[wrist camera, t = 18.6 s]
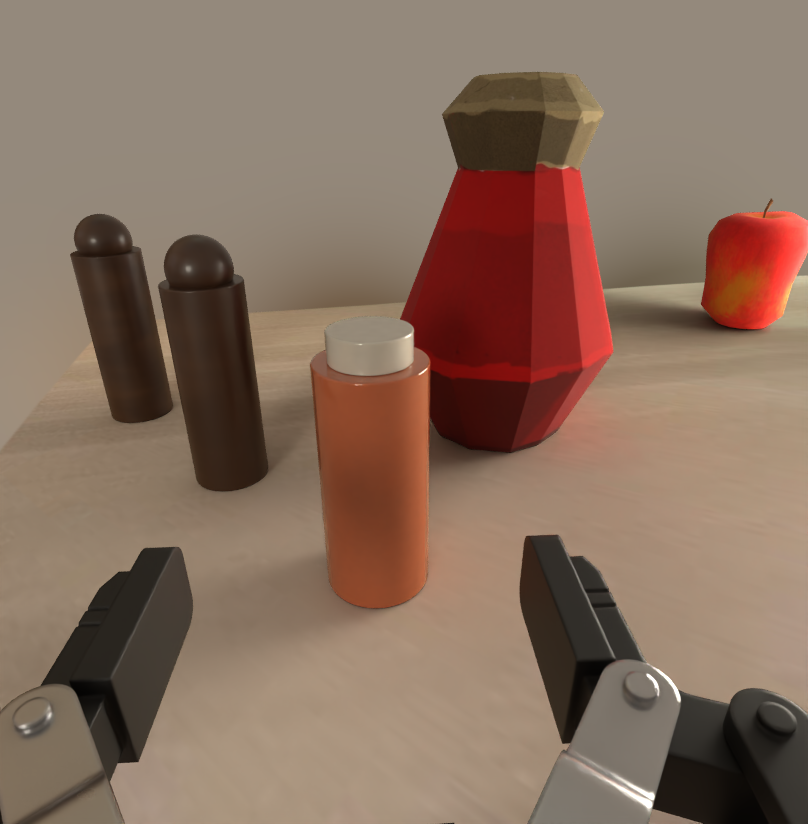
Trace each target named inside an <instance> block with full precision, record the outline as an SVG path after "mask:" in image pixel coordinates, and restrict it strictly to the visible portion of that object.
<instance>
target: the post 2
mask: <svg viewBox="0 0 808 824" xmlns="http://www.w3.org/2000/svg"><path fill="white" fill-rule="evenodd" d="M164 271H165V276H166V278H167V280H164V281H162V282H161V283H160V284H159V286H158V287H159V293H160V298H161V303H162V308H163V312H164V318H165V323H166V328H167V333H168V338H169V343H170V348H171V353H172V358H173V363H174V368H175V373H176V378H177V384H178V389H179V394H180V399H181V404H182V409H183V414H184V419H185V424H186V429H187V434H188V439H189V444H190V449H191V454H192V459H193V464H194V469H195V474H196V479H197V482H198V483H199V484H200V485H201V486H202V487H204V488H206V489H209V490H214V491H232V490H238V489H242V488H245V487H248V486H250V485H253V484H254V483H256V482H258V481H259V480H261V479H262V478H263V477H264V476H265V475H266V473H267V471H268V461H267V453H266V446H265V438H264V430H263V423H262V415H261V408H260V400H259V392H258V385H257V377H256V370H255V362H254V355H253V347H252V339H251V332H250V324H249V317H248V309H247V301H246V294H245V287H244V279H243V278H242V277H241V276H239V275H235V274H234V267H233V262H232V259H231V257H230V255H229V253H228V251H227V250H226V249H225V248H224V246H222V245H221V244H220V243H219V242H218V241H216V240H214V239H212V238H210V237H208V236H204V235H188V236H185V237H182V238H180V239H179V240H177V241H176V242H174V243H173V244H172V245H171V247H170V248H169V249H168V251H167V253H166V256H165V260H164Z"/></svg>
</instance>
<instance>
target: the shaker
mask: <svg viewBox="0 0 808 824" xmlns="http://www.w3.org/2000/svg"><path fill="white" fill-rule="evenodd" d="M324 335H325V349H326V350H324V351H322V352H320V353H318V354H317V355H316V356H314V357H313V359H312V360H311V363H310V372H311V383H312V395H313V406H314V418H315V429H316V441H317V452H318V464H319V475H320V487H321V499H322V510H323V522H324V533H325V545H326V556H327V568H328V578H329V583H330V585H331V587H332V589H333V590H334V592H335V593H336V594H337V595H338V596H339V597H340V598H342V599H343V600H345V601H347V602H349V603H351V604H353V605H356V606H360V607H365V608H386V607H392V606H395V605H399V604H401V603H404V602H406V601H408V600H409V599H411V598H412V597H414V596H415V595H416V594H417V593H418V592H419V591H420V590H421V589H422V588H423V586H424V584H425V582H426V580H427V576H428V525H429V443H430V358H429V356H428V355H427V354H426V353H425V352H424V351H422V350H420V349H418V348H416V347H414V328H413V326H412V325H411V324H410V323H408V322H406V321H403V320H400V319H396V318H391V317H382V316H364V317H354V318H348V319H344V320H340V321H337V322H334V323H332V324H330V325H329V326H327V327H326V329H325V332H324Z"/></svg>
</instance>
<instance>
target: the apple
mask: <svg viewBox="0 0 808 824" xmlns="http://www.w3.org/2000/svg"><path fill="white" fill-rule="evenodd" d="M772 202H773V200H772V199H771V200H770V201H769V203H768V206H767V207H766V209H765V211H764V212H752V213H736V214H733V215H731V216H728V217H726V218H723V219H721V220H719V221H718V223H717V224H716V225H715V227H714V228H713V230H712V231H711V232H710V234H709V238H708V246H707V256H706V279H705V285H704V291H703V296H702V302H701V305H702V306H703V308H704V309H705V310H706V311H707V312H708V314H709V315H710V316H711V317H712V318H713V320H714V321H716V322H717V323H719V324H721V325H724V326H728V327H733V328H740V329H762V328H765V327H767V326H768V325H769V324H771V323H772V322H774V321H775V320H777V319H778V318H780V317H781V316H782V315H783V312H784V309H785V305H786V302H787V299H788V296H789V292H790V289H791V286H792V283H793V281H794V279H795V277H796V275H797V273H798V271H799V269H800V267H801V265H802V263H803V261H804V259H805V256H806V254H807V252H808V221H806V220H805V219H803V218H801V217H800V216H798V215H796V214H794V213H791V212H784V211H783V212H767V210H768V209H769V207H770V206H771V204H772Z"/></svg>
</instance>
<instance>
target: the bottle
mask: <svg viewBox="0 0 808 824" xmlns="http://www.w3.org/2000/svg"><path fill="white" fill-rule="evenodd" d="M603 113H604V111H603V110H602V108H601V107H600V106H599V104H598V103H597V102H596V100H595V99H594V97H593V96H592V95H591V93H590V92H589V91H588V89H587V88H586V86H585V85H584V84H583V82H582V81H581V80H580V78H579V77H578V76H577V75H574V74H566V73H551V72H550V73H549V72H523V73H499V74H488V75H479V76H476V77H474V78H473V79H472V80H471V81H470V82H469V84H468V85H467V86H466V87H465V88H464V89H463V91H462V92H461V93H460V94H459V95H458V96H457V97H456V99H455V100H454V101H453V102H452V103H451V104H450V106H449V107H448V108H447V109H446V110H445V111H444V113H443V114H442V116H443V119H444V122H445V126H446V129H447V132H448V136H449V139H450V142H451V146H452V149H453V152H454V155H455V158H456V162H457V165H458V170H457V172H456V175H455V177H454V180H453V182H452V185H451V188H450V190H449V193H448V196H447V198H446V201H445V203H444V206H443V209H442V211H441V214H440V216H439V219H438V222H437V224H436V227H435V229H434V232H433V235H432V237H431V240H430V243H429V245H428V248H427V251H426V253H425V256H424V258H423V261H422V264H421V266H420V269H419V271H418V274H417V277H416V279H415V282H414V284H413V287H412V290H411V292H410V295H409V298H408V300H407V303H406V305H405V308H404V310H403V313H402V316H401V318H400V320H403V321H406V322H408V323H410V324H411V325H412V326H413V328H414V347H416V348H418V349H420V350H422V351H424V352H425V353H426V354H427V355H428V356H429V358H430V418H431V420H432V421H433V423H434V425H435V427H436V429H437V431H438V432H439V434H440V435H441V436H443V437H445V438H447V439H449V440H451V441H453V442H456V443H458V444H460V445H462V446H464V447H466V448H468V449H476V450H487V451H498V452H509V453H511V452H514V451H518V450H521V449H525V448H528V447H532V446H535V445H538V444H540V443H541V442H542V441H544V440H545V439H547V438H548V437H549V436H551V435H552V434H554V433H555V432H556V431H557V430H558V428H559V427H560V426H561V424H562V423H563V421H564V420H565V419H566V417H567V416H568V415H569V413H570V412H571V410H572V409H573V408H574V406H575V405H576V403H577V402H578V401H579V399H580V398H581V396H582V395H583V394H584V392H585V391H586V389H587V388H588V387H589V385H590V384H591V382H592V381H593V380H594V378H595V377H596V375H597V374H598V373H599V371H600V370H601V368H602V367H603V366H604V364H605V363H606V361H607V360H608V359H609V357H610V356H611V355H612V353H613V346H612V338H611V331H610V325H609V320H608V315H607V310H606V304H605V299H604V294H603V288H602V284H601V278H600V273H599V267H598V262H597V257H596V251H595V246H594V241H593V236H592V231H591V225H590V220H589V215H588V209H587V204H586V199H585V194H584V188H583V183H582V178H581V172H580V165H581V163H582V160H583V158H584V156H585V154H586V151H587V149H588V147H589V145H590V142H591V140H592V137H593V136H594V133H595V131H596V129H597V127H598V124H599V122H600V120H601V118H602V115H603Z"/></svg>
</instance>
